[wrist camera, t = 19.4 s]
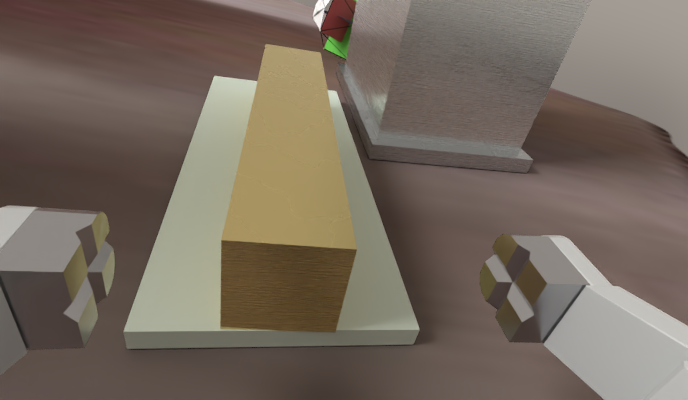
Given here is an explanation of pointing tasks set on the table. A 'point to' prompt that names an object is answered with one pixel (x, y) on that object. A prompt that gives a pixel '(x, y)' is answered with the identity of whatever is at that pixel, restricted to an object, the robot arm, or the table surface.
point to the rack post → (454, 77)
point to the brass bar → (287, 206)
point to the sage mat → (205, 247)
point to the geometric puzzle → (336, 24)
